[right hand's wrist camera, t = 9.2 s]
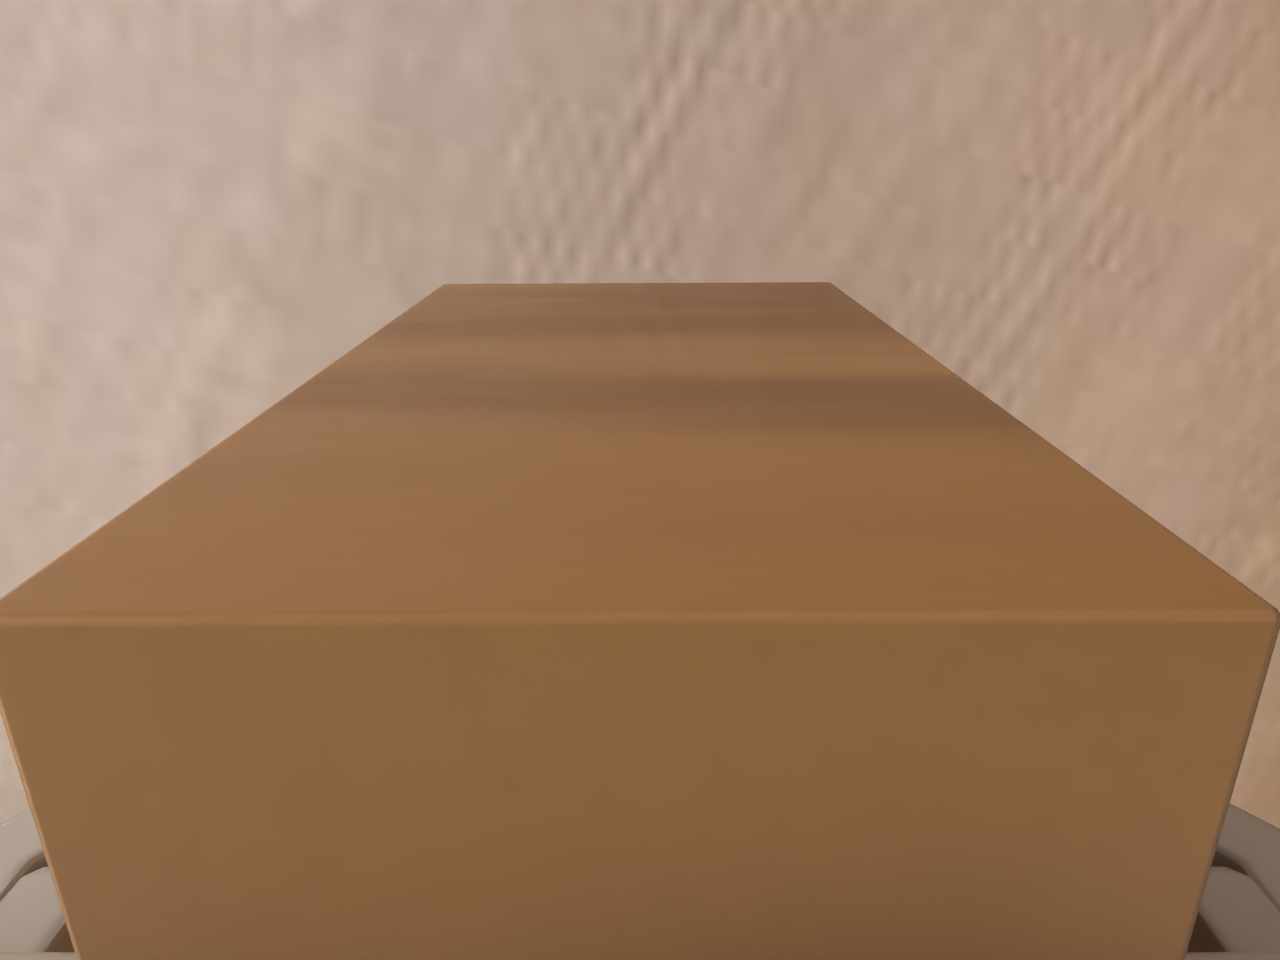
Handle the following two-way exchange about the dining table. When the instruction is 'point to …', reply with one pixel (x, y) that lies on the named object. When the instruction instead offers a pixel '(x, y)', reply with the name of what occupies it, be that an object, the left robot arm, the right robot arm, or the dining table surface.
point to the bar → (632, 660)
